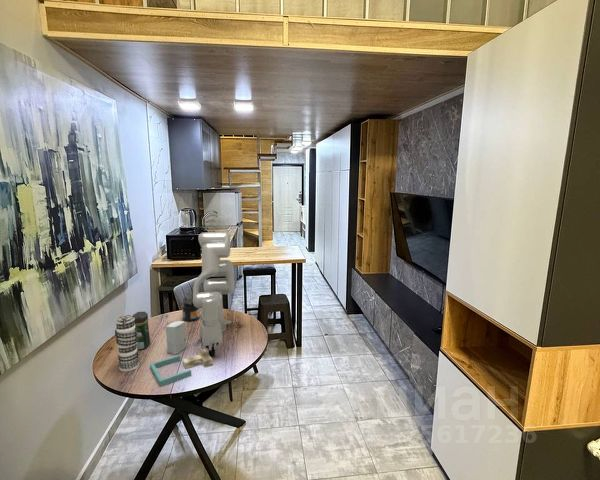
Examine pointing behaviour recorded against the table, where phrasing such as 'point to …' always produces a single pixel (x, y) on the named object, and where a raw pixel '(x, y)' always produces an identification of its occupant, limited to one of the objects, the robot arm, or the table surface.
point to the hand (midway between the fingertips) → (212, 356)
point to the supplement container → (190, 310)
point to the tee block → (198, 359)
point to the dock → (172, 378)
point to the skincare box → (176, 337)
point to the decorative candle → (126, 343)
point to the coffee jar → (142, 330)
